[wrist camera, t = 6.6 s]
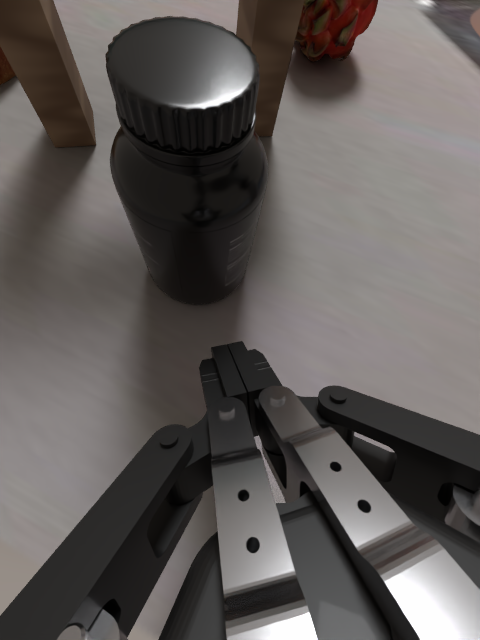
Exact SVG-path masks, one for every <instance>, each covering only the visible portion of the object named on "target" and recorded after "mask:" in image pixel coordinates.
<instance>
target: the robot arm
mask: <svg viewBox="0 0 480 640" xmlns="http://www.w3.org/2000/svg"><path fill="white" fill-rule="evenodd" d="M211 352H212V358H211V359H206V360H202V362H201V364H200V367H199V370H200V375H201V381H202V387H203V392H204V397H205V402H206V407H207V412H206V414H205V416H204V418H203V419H202V420H201V421H200V422H198V423H197V424H195V425H194V426H192V427H190V428H186V427H185V426H183V425H178V424H174V425H168V426H165V427H163V428H161V429H160V430H158V431H157V432H156V433H155V434H154V435H153V436H152V437H151V438H150V439H149V440H148V442H147V443H146V444H145V445H144V446H143V448H142V449H141V450H140V451H139V452H138V453H137V455H136V456H135V457H134V458H133V459H132V461H131V462H130V463H129V464H128V465H127V466H126V468H125V469H124V470H123V471H122V472H121V474H120V475H119V476H118V477H117V478H116V479H115V481H114V482H113V483H112V484H111V485H110V487H109V488H108V489H107V490H106V491H105V493H104V494H103V495H102V496H101V497H100V498H99V500H98V501H97V502H96V503H95V504H94V506H93V507H92V508H91V509H90V510H89V511H88V513H87V514H86V515H85V516H84V517H83V519H82V520H81V521H80V522H79V523H78V524H77V526H76V527H75V528H74V529H73V530H72V532H71V533H70V534H69V535H68V536H67V537H66V539H65V540H64V541H63V542H62V543H61V545H60V546H59V547H58V548H57V549H56V550H55V552H54V553H53V554H52V555H51V556H50V558H49V559H48V560H47V561H46V562H45V563H44V565H43V566H42V567H41V568H40V569H39V571H38V572H37V573H36V574H35V575H34V576H33V578H32V579H31V580H30V581H29V582H28V584H27V585H26V586H25V587H24V588H23V590H22V591H21V592H20V593H19V594H18V596H17V597H16V598H15V599H14V600H13V602H12V603H11V604H10V605H9V606H8V607H7V608H6V610H5V611H4V612H3V613H2V614H1V616H0V640H128V639H127V637H128V635H129V633H130V631H131V629H132V628H133V626H134V624H135V622H136V620H137V618H138V616H139V615H140V613H141V611H142V609H143V607H144V605H145V603H146V601H147V600H148V598H149V596H150V594H151V592H152V590H153V588H154V586H155V585H156V583H157V581H158V579H159V577H160V575H161V573H162V571H163V570H164V568H165V566H166V564H167V562H168V560H169V558H170V556H171V555H172V553H173V551H174V549H175V547H176V545H177V543H178V541H179V540H180V538H181V536H182V534H183V532H184V530H185V528H186V527H187V525H188V523H189V521H190V519H191V517H192V515H193V513H194V512H195V510H196V508H197V506H198V504H199V502H200V500H201V498H202V495H203V492H204V491H205V490H207V489H208V488H210V487H211V486H213V487H214V497H215V508H216V518H217V529H218V531H217V532H216V533H215V534H214V535H213V536H212V537H211V538H210V539H209V540H208V541H207V542H206V543H205V544H204V546H203V547H202V548H201V550H200V551H199V552H198V554H197V556H196V557H195V559H194V561H193V563H192V565H191V567H190V569H189V571H188V573H187V576H186V578H185V580H184V582H183V585H182V587H181V589H180V592H179V594H178V596H177V598H176V601H175V603H174V605H173V608H172V610H171V612H170V614H169V617H168V619H167V621H166V624H165V626H164V628H163V630H162V633H161V635H160V637H159V640H480V435H478V434H475V433H473V432H470V431H467V430H464V429H461V428H458V427H456V426H453V425H450V424H447V423H444V422H441V421H439V420H436V419H433V418H430V417H427V416H424V415H421V414H419V413H416V412H413V411H410V410H407V409H404V408H402V407H399V406H396V405H393V404H390V403H387V402H385V401H382V400H379V399H376V398H373V397H370V396H367V395H365V394H362V393H359V392H356V391H353V390H350V389H348V388H345V387H341V386H328V387H325V388H323V389H322V390H321V391H320V392H319V395H318V397H300V396H296V395H295V394H294V392H293V391H292V390H290V389H289V388H287V387H284V386H282V384H281V383H280V381H279V379H278V378H277V376H276V375H275V373H274V371H273V370H272V368H271V367H270V365H269V363H268V362H267V360H266V358H265V357H264V355H263V354H262V353H260V352H259V351H257V350H256V349H253V350H249V351H247V349H246V347H245V345H244V343H243V342H242V341H241V342H236V343H231V344H227V345H221V346H216V347H211ZM354 432H357V433H359V434H361V435H364V436H366V437H368V438H370V439H373V440H375V441H377V442H380V443H382V444H384V445H387V446H389V447H390V448H391V449H393V450H394V451H395V452H389V451H387V450H384V449H382V448H380V447H378V446H375V445H373V444H371V443H369V442H366V441H364V440H362V439H360V438H357V437H355V436H354ZM258 435H259V437H260V439H261V442H262V452H263V455H264V457H265V459H266V461H267V463H268V465H269V467H270V469H271V471H272V473H273V475H274V477H275V480H276V482H277V484H278V486H279V488H280V490H281V492H282V494H283V496H284V499H285V502H286V503H275V500H274V496H273V493H272V489H271V486H270V482H269V479H268V475H267V472H266V468H265V465H264V461H263V458H262V455H261V452H260V450H259V449H257V447H256V443H255V439H254V437H255V436H258Z"/></svg>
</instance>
